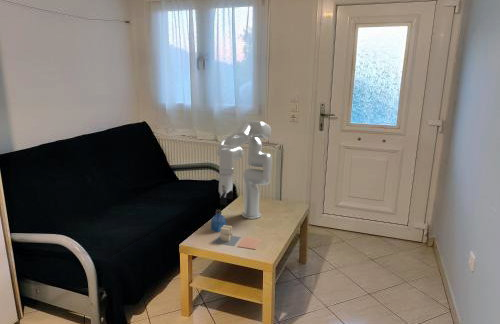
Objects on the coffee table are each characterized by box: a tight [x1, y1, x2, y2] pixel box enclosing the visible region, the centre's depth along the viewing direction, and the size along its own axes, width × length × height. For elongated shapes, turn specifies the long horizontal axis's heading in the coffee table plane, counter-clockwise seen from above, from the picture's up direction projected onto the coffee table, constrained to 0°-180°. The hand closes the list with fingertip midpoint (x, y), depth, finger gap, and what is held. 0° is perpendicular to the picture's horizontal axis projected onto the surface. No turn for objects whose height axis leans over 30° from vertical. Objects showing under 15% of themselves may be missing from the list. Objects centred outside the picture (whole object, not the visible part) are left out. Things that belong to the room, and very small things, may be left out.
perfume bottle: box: [210, 209, 227, 233], centre depth 212 cm, size 6×6×12 cm
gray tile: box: [213, 234, 241, 247], centre depth 199 cm, size 12×12×1 cm
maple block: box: [220, 224, 233, 241], centre depth 199 cm, size 5×5×7 cm
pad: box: [237, 236, 262, 251], centre depth 195 cm, size 12×10×1 cm
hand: (226, 201), depth 195 cm, fingers open, 9 cm apart
